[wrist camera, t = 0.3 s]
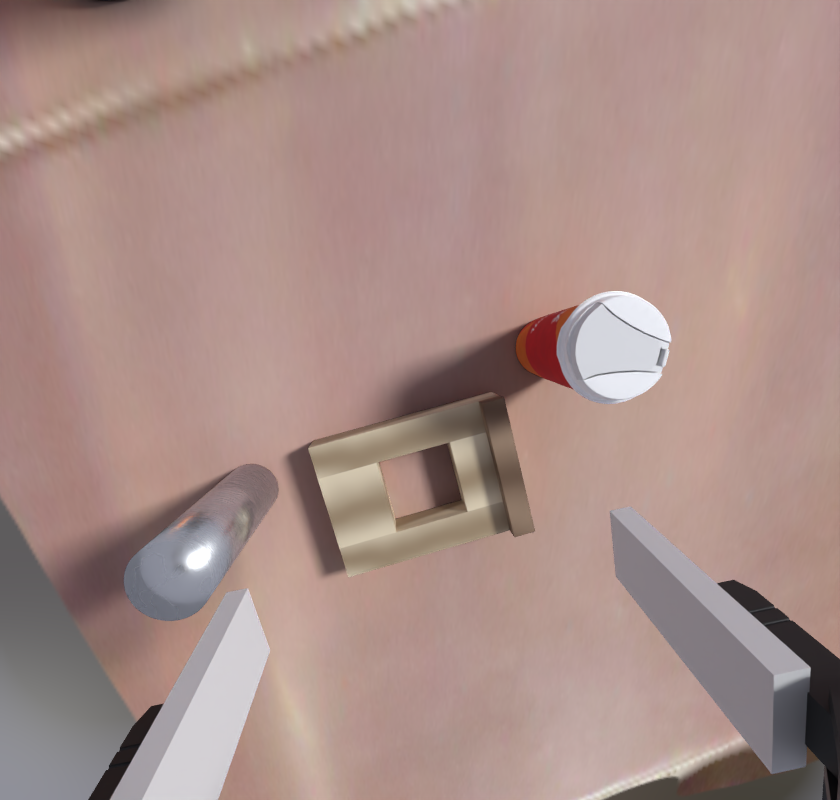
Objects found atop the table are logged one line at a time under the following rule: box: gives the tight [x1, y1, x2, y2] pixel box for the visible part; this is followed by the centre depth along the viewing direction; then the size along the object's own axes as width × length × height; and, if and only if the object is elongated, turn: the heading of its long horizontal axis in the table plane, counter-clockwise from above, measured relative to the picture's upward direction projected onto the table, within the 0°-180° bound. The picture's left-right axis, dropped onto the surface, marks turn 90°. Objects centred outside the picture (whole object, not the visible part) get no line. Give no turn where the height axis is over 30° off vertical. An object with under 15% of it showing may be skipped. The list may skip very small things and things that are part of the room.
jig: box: [308, 392, 535, 577], centre depth 40 cm, size 13×18×4 cm
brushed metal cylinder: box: [124, 464, 279, 621], centre depth 33 cm, size 5×5×16 cm
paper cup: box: [516, 291, 671, 404], centre depth 34 cm, size 8×8×14 cm
